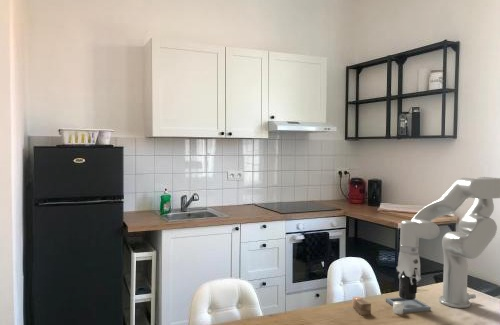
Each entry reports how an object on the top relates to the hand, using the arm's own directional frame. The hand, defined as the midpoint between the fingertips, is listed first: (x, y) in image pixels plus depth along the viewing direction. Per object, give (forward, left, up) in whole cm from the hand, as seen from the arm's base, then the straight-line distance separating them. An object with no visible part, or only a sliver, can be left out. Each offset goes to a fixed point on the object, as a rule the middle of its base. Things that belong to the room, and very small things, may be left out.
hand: (407, 290), depth 175 cm
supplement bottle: (0, 0, -3) cm, 3 cm away
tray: (0, 0, -7) cm, 7 cm away
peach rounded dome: (+22, -2, -7) cm, 23 cm away
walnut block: (+23, +3, -7) cm, 24 cm away
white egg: (+8, +6, -7) cm, 12 cm away
